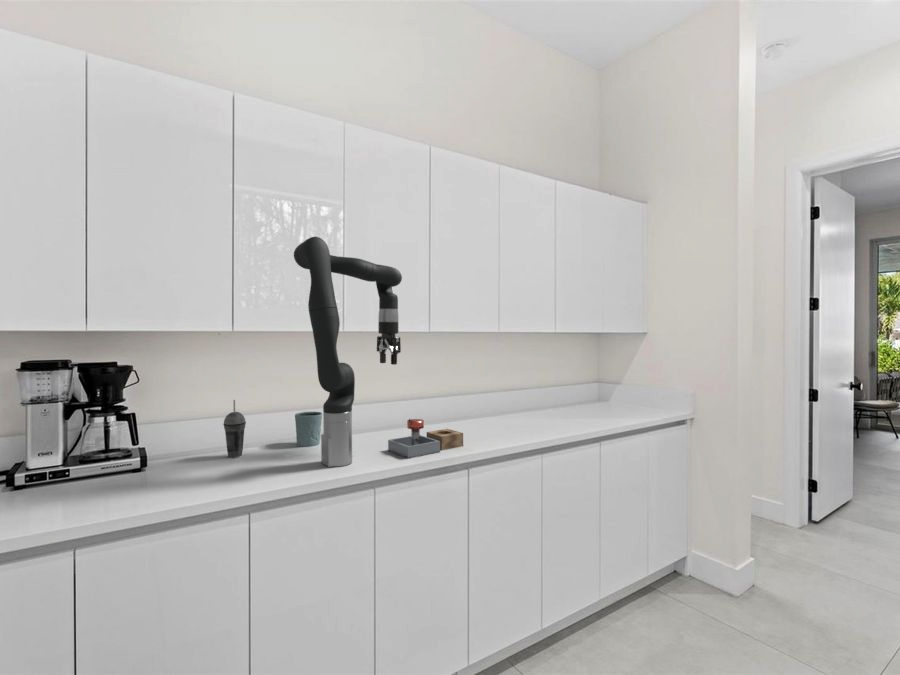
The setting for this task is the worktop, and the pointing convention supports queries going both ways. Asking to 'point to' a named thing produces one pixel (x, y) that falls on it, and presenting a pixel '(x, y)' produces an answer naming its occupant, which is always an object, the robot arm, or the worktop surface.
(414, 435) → the pin
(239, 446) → the beverage cup
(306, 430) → the teal tapered cylinder
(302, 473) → the worktop surface
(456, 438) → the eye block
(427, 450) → the tray
